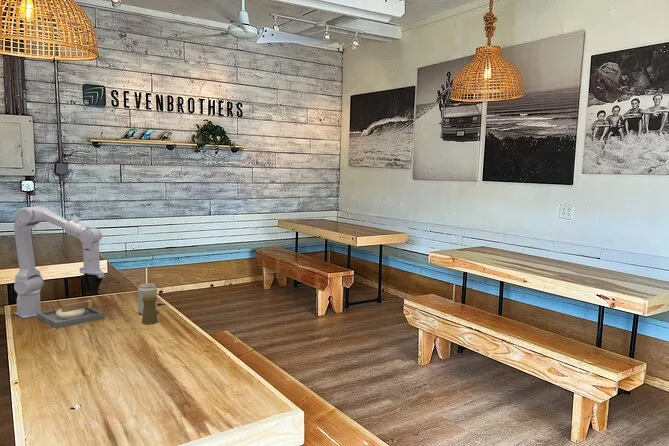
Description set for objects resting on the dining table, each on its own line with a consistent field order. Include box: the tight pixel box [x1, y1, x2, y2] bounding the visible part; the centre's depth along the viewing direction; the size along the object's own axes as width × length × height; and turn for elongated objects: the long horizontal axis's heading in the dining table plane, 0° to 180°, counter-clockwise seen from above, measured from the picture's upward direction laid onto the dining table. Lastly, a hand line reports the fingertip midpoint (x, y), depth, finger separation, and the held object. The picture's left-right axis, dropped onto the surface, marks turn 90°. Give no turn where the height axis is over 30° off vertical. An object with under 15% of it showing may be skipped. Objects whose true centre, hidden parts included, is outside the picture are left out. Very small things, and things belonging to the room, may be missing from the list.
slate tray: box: [36, 307, 105, 329], centre depth 199 cm, size 18×18×2 cm
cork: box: [141, 294, 159, 325], centre depth 197 cm, size 6×6×11 cm
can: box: [137, 282, 158, 315], centre depth 209 cm, size 8×8×12 cm
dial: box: [56, 299, 93, 319], centre depth 200 cm, size 10×13×4 cm
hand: (92, 292), depth 199 cm, fingers open, 3 cm apart
